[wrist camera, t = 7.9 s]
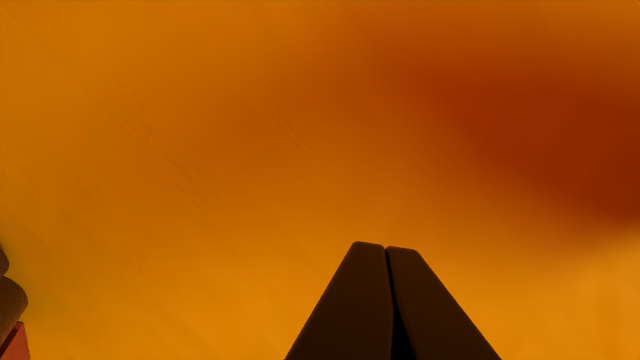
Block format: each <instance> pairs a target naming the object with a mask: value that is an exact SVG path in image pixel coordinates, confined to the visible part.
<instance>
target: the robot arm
mask: <svg viewBox="0 0 640 360" xmlns="http://www.w3.org/2000/svg"><path fill="white" fill-rule="evenodd" d="M284 360H502V359H501V358H500V357H499V356H498V354H497V353H496V352H495V350H494V349H493V348H492V347H491V345H490V344H489V343H488V341H487V340H486V339H485V338H484V336H483V335H482V334H481V332H480V331H479V330H478V329H477V327H476V326H475V325H474V323H473V322H472V321H471V320H470V318H469V317H468V316H467V314H466V313H465V312H464V311H463V309H462V308H461V307H460V305H459V304H458V303H457V302H456V300H455V299H454V298H453V296H452V295H451V294H450V293H449V291H448V290H447V289H446V287H445V286H444V285H443V284H442V282H441V281H440V280H439V278H438V277H437V276H436V274H435V273H434V272H433V271H432V269H431V268H430V267H429V265H428V264H427V263H426V262H425V260H424V259H423V258H422V256H421V255H420V254H419V253H418V252H417V251H415V250H413V249H407V248H400V247H393V246H388V247H387V248H386V249H384V247H383V246H382V245H379V244H373V243H366V242H360V241H356V242H354V243H353V244H352V245H351V247H350V249H349V250H348V252H347V254H346V255H345V257H344V259H343V261H342V262H341V264H340V266H339V267H338V269H337V271H336V272H335V274H334V276H333V278H332V279H331V281H330V283H329V284H328V286H327V288H326V289H325V291H324V293H323V295H322V296H321V298H320V300H319V301H318V303H317V305H316V306H315V308H314V310H313V312H312V313H311V315H310V317H309V318H308V320H307V322H306V323H305V325H304V327H303V328H302V330H301V332H300V334H299V335H298V337H297V339H296V340H295V342H294V344H293V345H292V347H291V349H290V351H289V352H288V354H287V356H286V357H285V359H284Z"/></svg>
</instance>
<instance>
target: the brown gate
mask: <svg viewBox="0 0 640 360" xmlns="http://www.w3.org/2000/svg"><path fill="white" fill-rule="evenodd" d="M27 305H28V299H27V296H26V294H25V292H24V291H23V289H22V288H21V287H20V286H19V285H17V284H16V283H15V282H13V281H11V280H9V279H7V278H4V277H2V278H1V280H0V360H30V355H29V350H28V345H27V339H26V334H25V329H24V324H23V323H19V322H17V321H18V319H19V318H20V316H21V315H22V313H23V312H24V310H25V309H26V307H27Z"/></svg>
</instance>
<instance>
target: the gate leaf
mask: <svg viewBox="0 0 640 360" xmlns="http://www.w3.org/2000/svg"><path fill="white" fill-rule="evenodd" d="M8 268H9V261H8V258H7V256H6V255H5V253H4V252H3V251H2V250H1V249H0V280H1V278H2V277H3V276H4V274H5V273H6V272H7V270H8Z"/></svg>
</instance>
